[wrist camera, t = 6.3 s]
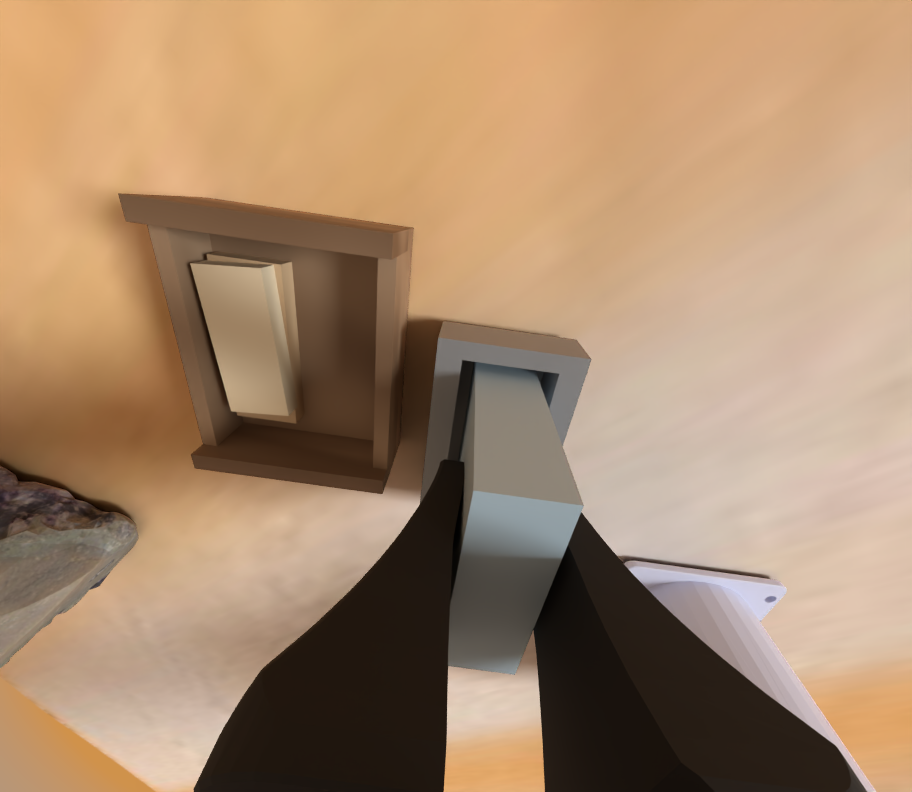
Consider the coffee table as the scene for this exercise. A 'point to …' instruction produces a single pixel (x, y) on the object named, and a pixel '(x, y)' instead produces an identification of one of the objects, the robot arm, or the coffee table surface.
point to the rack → (319, 333)
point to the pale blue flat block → (507, 519)
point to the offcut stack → (253, 333)
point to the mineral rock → (50, 555)
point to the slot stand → (465, 344)
